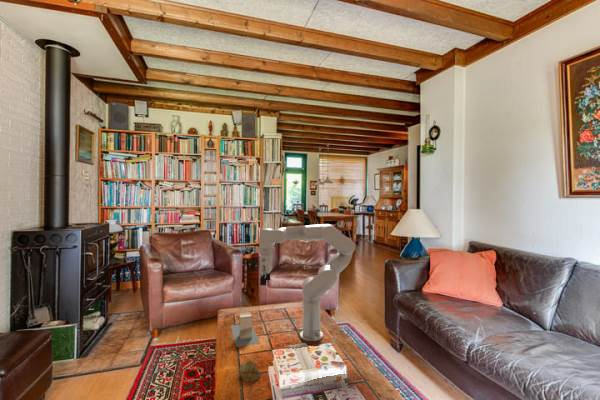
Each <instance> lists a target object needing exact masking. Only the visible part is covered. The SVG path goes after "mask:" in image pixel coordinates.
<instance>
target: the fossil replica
mask: <svg viewBox="0 0 600 400" xmlns="http://www.w3.org/2000/svg"><path fill="white" fill-rule="evenodd" d="M302 347H308V348H309V345H308V344H307V342H301V343H296V344H292V345H288V346H287V349H289V348H292V349H294V348H302Z"/></svg>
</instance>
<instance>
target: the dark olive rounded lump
mask: <svg viewBox="0 0 600 400" xmlns="http://www.w3.org/2000/svg"><path fill="white" fill-rule="evenodd" d="M239 368H240V379H242V380H243V381H244V382H246V383H253V382H257V381H258V380H259V379H260V376H261V375H262V373H261V372H260V371H259V368H258V365H257V363H256V362H255V361H253V360H251V359H247V360H245V361H244V362H243V363H241V364H240V365H239Z"/></svg>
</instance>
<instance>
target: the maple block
mask: <svg viewBox="0 0 600 400" xmlns="http://www.w3.org/2000/svg"><path fill="white" fill-rule="evenodd" d="M238 325H239V337H240V340H247V339H252V326H253V315H252V313H251V312H250V311H246V312H240V313H238Z"/></svg>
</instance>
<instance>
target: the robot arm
mask: <svg viewBox="0 0 600 400" xmlns="http://www.w3.org/2000/svg"><path fill="white" fill-rule="evenodd" d="M289 240H290V241H292V240H296V241H297V240H299V241H303V242H313V241H314V242H315V241H325V242H326V243H327V244H328V245H330V246H331V247H332V248H334V249H335V250H336V254H334V255H333V256H332V257H331V258H330V259H329V260H328V261H327V262H326V263H324V264H323V265H322V266H321V267H319V269H318V271H317V274H316V276H307V277H306V278H304V280H303V282H302V285H301V286H302V289H301V291H302V331H300V332H299V337H300V339H302V340H303V341H307V342H316V341H320V340H322V339H323V337H324V333H323V331H322V330H321V297H322V296H324V295H325V294H326V293H327V292H328V291H329V290H330V289H332V288H333V287H334V286H335V284H336V283H337V280H338V275H339V274H340V273H341V272H343V270H345V269H346V268H347V266H348V265H349V264H350V262H351V260H352V258H353V253H354V252H355V250H356V245H355V242H353V240H352V239H351V238H350V237H347V236H346V235H345V234H343V233H342V232H341V231H340V230H339V229H338V228H336V227H335V225H333V224H331V223H330V224H329V223H322V224H320V223H319V224H309V225H298V226H297V225H296V226H285V227H284V226H283V227H279V228H276V229H273V228H271V227H270V228H268V227H266V228H265V227H263V228H261V229H260V230H259V242H258V243H259V250H258V255H260V260H259V261H260V262H259V273H260V277H259V279H260V280H259V285H260V286H267V281H270V280H271V271H273V254H274V243H275V244H277V243H278V244H282V243H285V242H286V241H289Z"/></svg>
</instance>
